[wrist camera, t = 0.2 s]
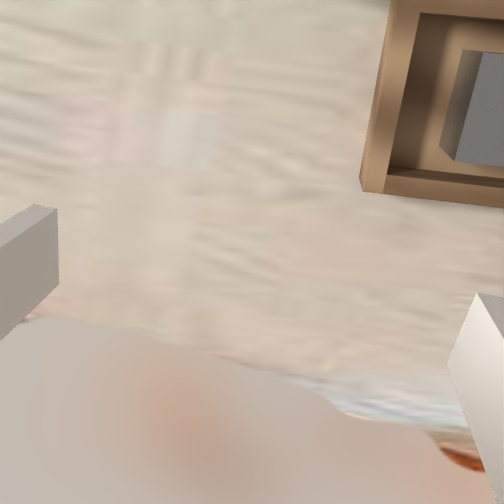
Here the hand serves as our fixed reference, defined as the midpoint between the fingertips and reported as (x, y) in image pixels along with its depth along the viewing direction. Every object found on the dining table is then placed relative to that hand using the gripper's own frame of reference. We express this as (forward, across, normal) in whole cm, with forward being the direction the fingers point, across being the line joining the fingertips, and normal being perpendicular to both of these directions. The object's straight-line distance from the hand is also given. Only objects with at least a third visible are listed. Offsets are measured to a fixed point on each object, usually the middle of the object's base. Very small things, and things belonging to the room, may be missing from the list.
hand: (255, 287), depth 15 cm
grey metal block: (+26, +14, +4) cm, 30 cm away
